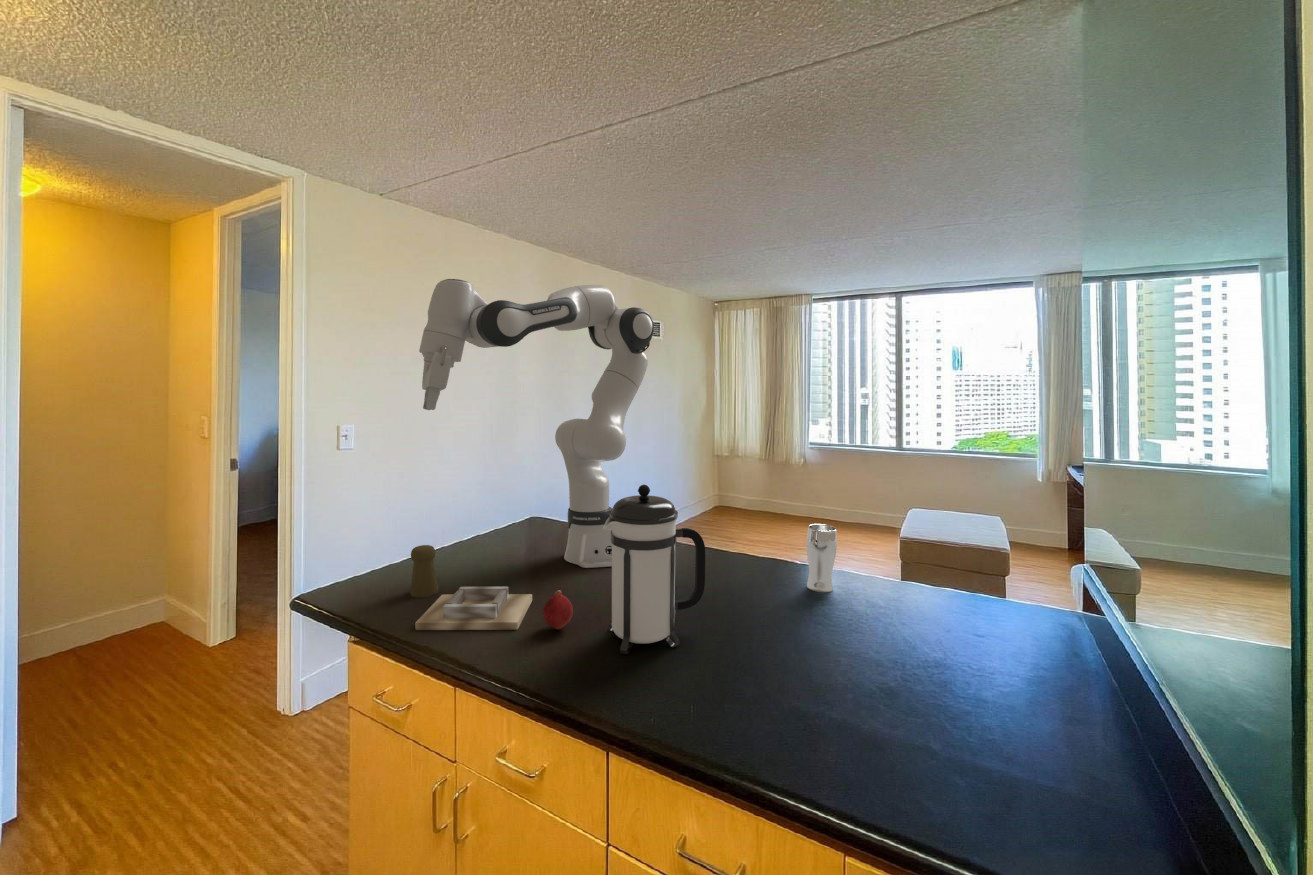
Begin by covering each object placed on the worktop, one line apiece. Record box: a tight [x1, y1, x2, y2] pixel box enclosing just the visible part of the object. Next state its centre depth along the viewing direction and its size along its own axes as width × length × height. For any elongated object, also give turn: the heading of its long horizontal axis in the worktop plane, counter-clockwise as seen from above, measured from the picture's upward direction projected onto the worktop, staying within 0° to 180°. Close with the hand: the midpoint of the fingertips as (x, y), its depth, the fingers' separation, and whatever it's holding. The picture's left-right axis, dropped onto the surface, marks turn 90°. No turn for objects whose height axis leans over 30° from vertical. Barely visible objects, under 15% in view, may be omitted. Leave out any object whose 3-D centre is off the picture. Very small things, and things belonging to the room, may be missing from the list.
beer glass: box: [806, 523, 838, 594], centre depth 125 cm, size 7×7×15 cm
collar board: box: [414, 586, 533, 631], centre depth 109 cm, size 20×14×4 cm
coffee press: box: [603, 484, 706, 655], centre depth 99 cm, size 17×16×30 cm
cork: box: [409, 544, 439, 599], centre depth 121 cm, size 6×6×11 cm
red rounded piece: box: [542, 589, 574, 631], centre depth 103 cm, size 6×6×8 cm
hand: (428, 409), depth 116 cm, fingers open, 8 cm apart
